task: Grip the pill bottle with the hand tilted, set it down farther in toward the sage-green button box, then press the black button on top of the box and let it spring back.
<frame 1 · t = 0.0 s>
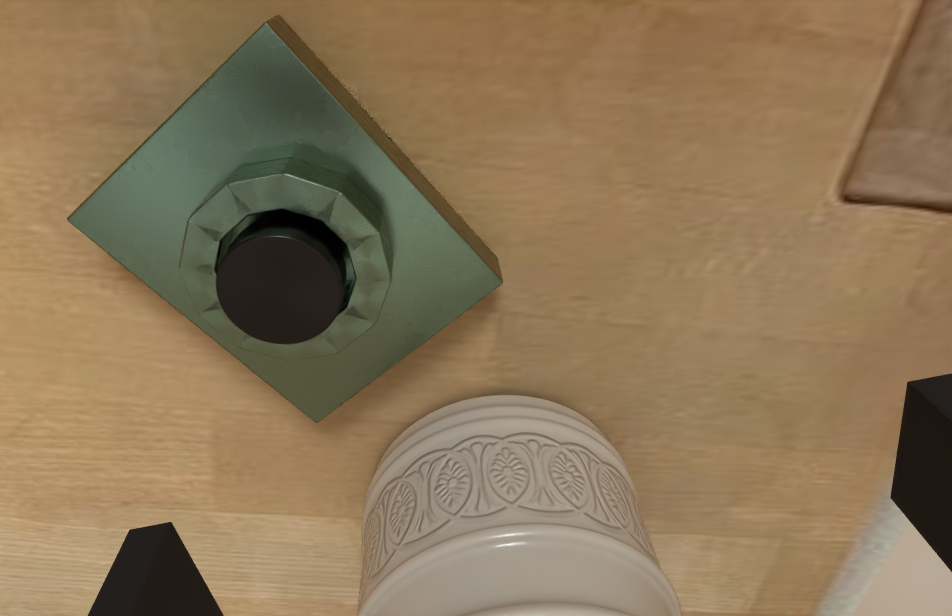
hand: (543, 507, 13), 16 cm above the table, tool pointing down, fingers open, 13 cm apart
jar: (496, 491, 35), on the table
button box: (303, 229, 27), on the table
button: (283, 280, 23), point 4 cm above the table, slide at 0.1 cm
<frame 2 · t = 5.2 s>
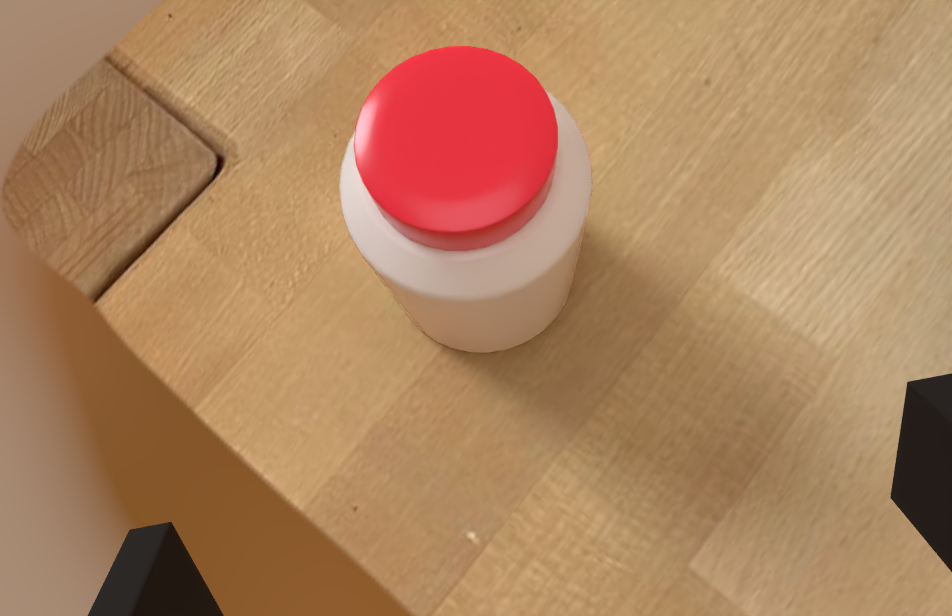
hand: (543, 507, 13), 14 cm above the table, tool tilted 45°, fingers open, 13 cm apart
pill bottle: (483, 263, 29), on the table
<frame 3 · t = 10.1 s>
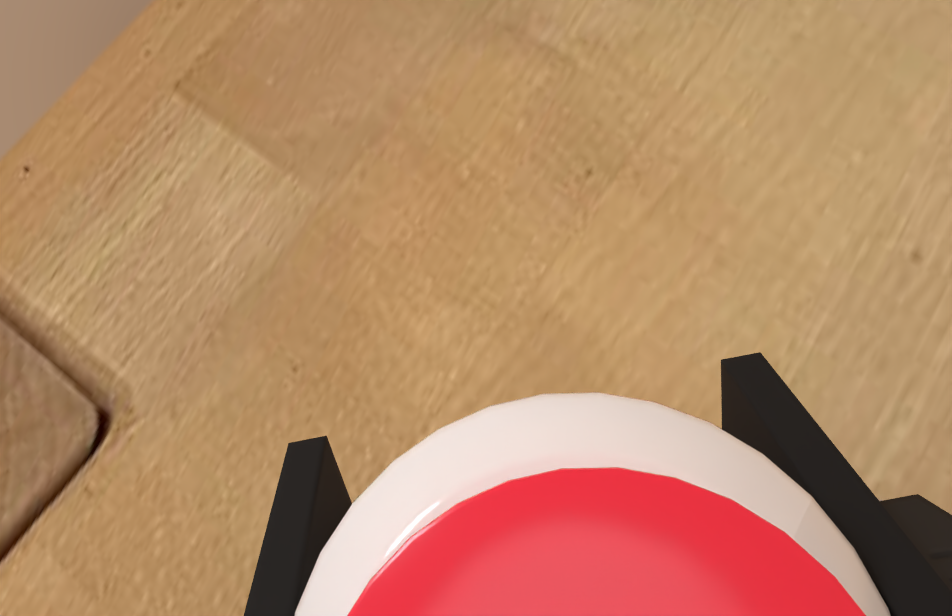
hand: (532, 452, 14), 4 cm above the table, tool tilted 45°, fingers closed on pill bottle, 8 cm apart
pill bottle: (561, 604, 17), on the table, touching gripper
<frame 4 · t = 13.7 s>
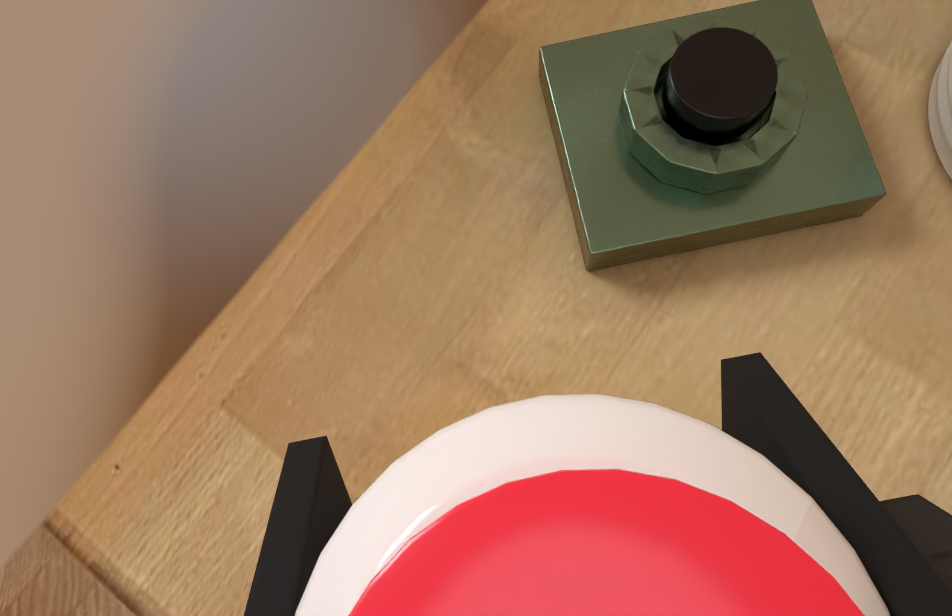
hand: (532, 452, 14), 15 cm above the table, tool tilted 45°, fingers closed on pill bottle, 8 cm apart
button box: (692, 142, 31), on the table
button: (717, 85, 27), point 4 cm above the table, slide at 0.1 cm
pill bottle: (561, 605, 17), point 11 cm above the table, touching gripper
when the fingers open (4 cm above the table, at t = 17.4 s): pill bottle stays where it is, on the table.
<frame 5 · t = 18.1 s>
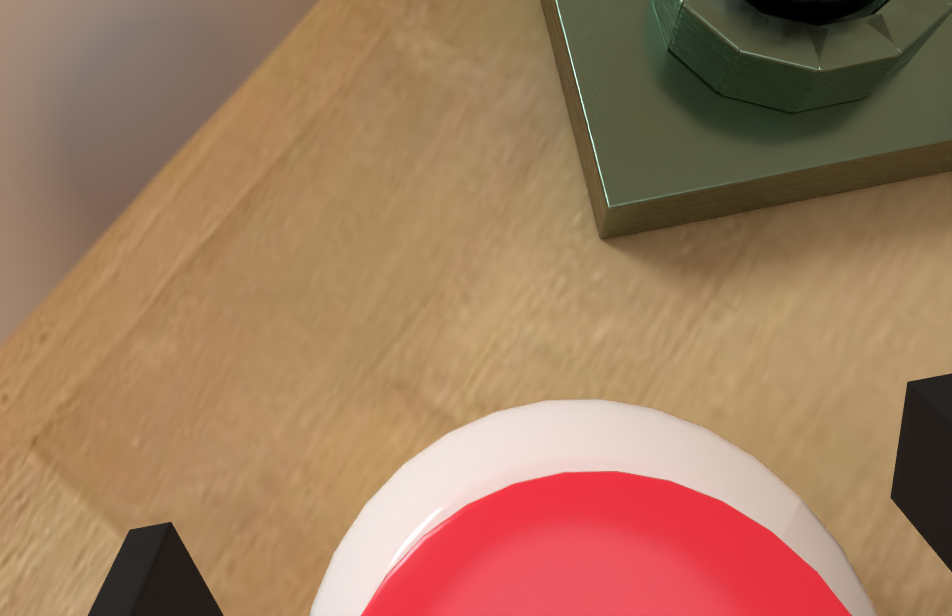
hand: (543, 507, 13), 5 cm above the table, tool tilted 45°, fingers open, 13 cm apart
button box: (761, 46, 20), on the table
pill bottle: (563, 602, 17), on the table
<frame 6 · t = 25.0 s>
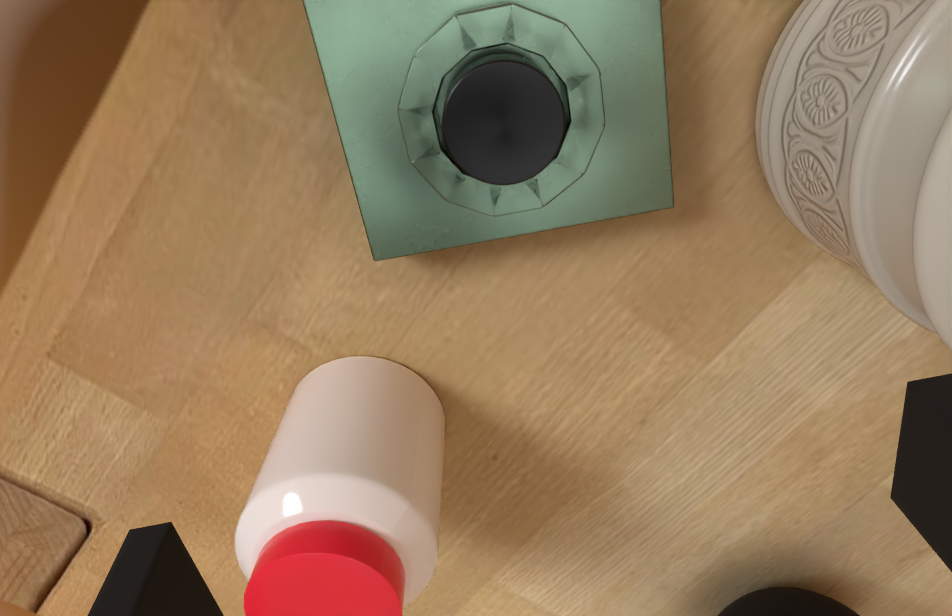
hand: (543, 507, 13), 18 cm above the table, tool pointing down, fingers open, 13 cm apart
jar: (910, 95, 27), on the table
decorative ball: (761, 608, 40), on the table
button box: (498, 97, 27), on the table
button: (502, 120, 23), point 4 cm above the table, slide at 0.1 cm
pill bottle: (367, 421, 34), on the table
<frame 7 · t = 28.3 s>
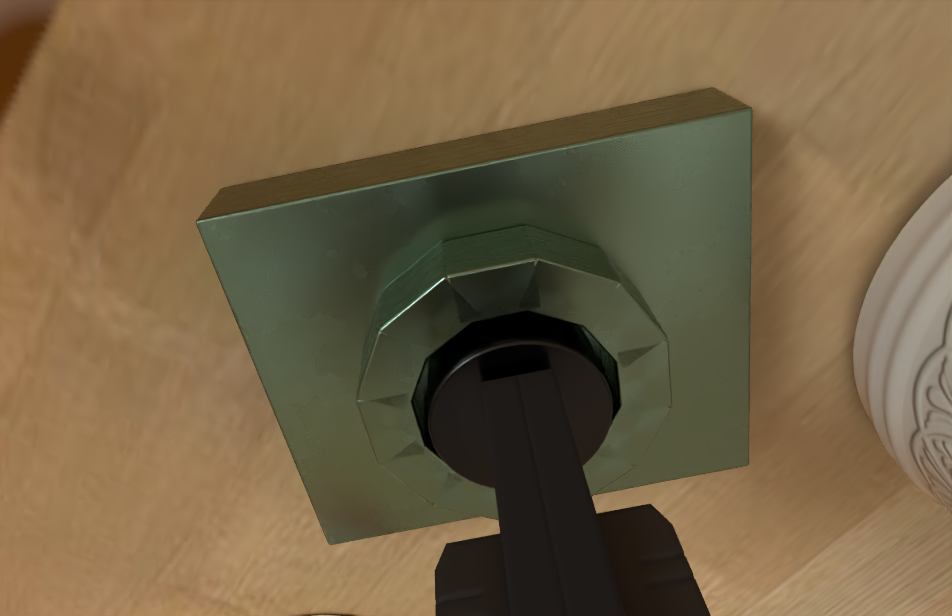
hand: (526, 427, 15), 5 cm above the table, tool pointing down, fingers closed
button box: (499, 316, 19), on the table
button: (516, 397, 16), point 4 cm above the table, slide at -0.6 cm, touching gripper
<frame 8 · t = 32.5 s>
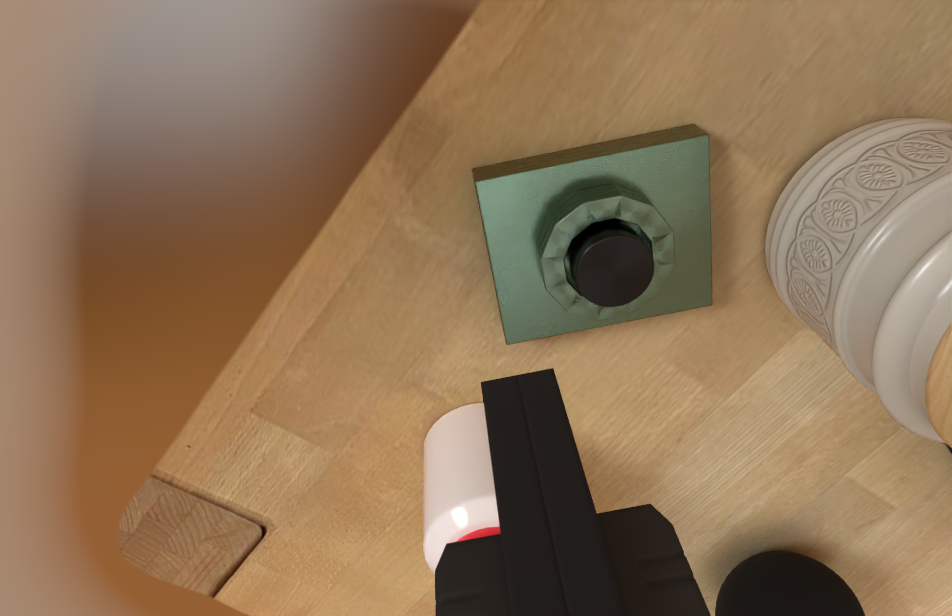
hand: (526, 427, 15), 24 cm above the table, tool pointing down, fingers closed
jar: (867, 223, 40), on the table
decorative ball: (758, 566, 54), on the table
button box: (592, 231, 39), on the table
button: (611, 265, 35), point 4 cm above the table, slide at 0.1 cm
pill bottle: (480, 447, 46), on the table
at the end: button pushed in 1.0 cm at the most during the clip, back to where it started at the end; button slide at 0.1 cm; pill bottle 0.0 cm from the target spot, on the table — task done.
